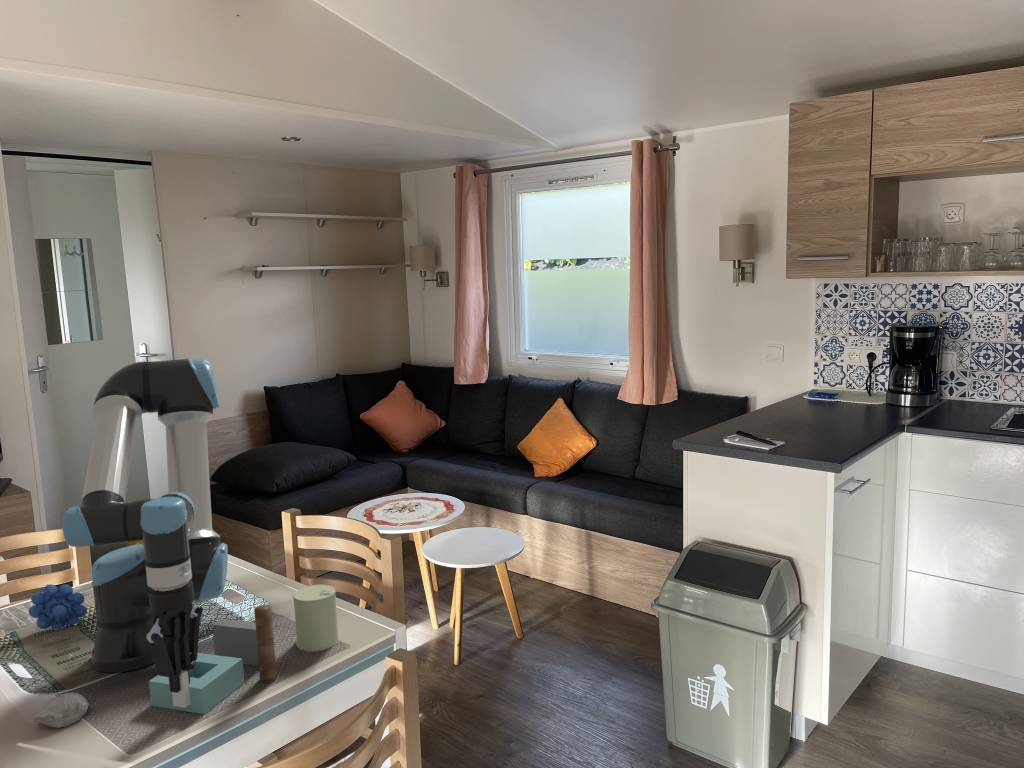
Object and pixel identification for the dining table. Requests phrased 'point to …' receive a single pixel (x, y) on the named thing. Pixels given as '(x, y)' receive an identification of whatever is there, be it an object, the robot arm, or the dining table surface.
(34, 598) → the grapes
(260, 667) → the dowel
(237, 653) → the wall
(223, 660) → the block
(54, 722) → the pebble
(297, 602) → the can
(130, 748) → the dining table surface
